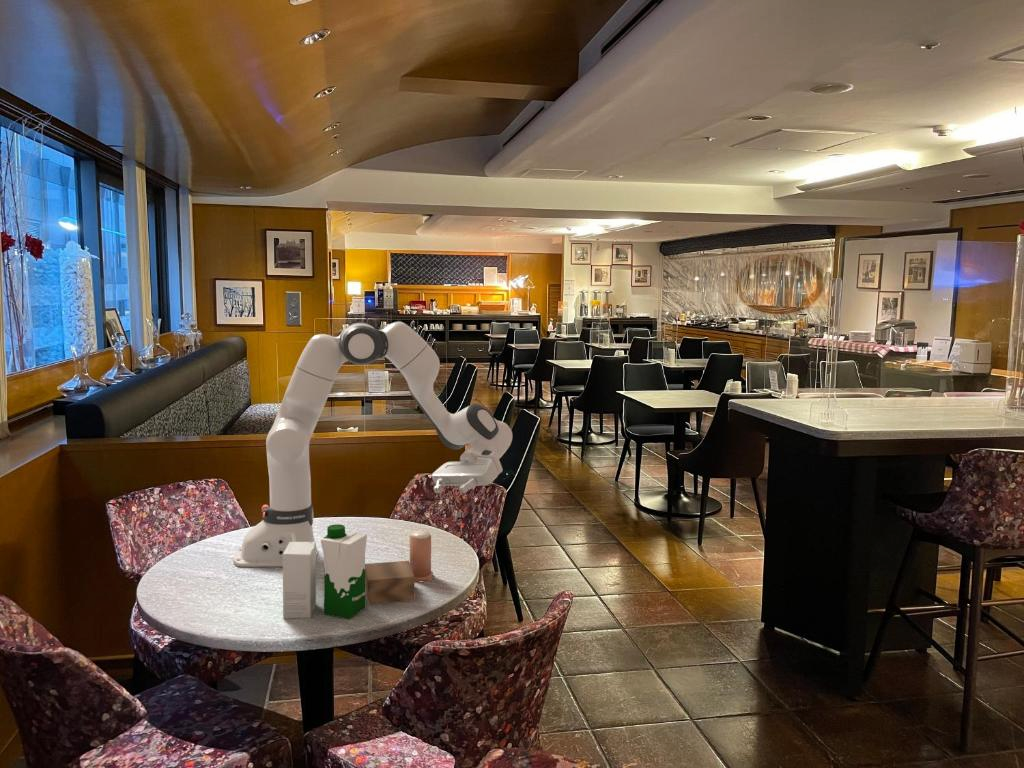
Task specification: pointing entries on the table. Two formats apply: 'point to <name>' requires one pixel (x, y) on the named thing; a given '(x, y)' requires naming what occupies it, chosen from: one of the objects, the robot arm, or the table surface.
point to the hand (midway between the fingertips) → (448, 491)
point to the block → (389, 582)
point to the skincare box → (299, 580)
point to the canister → (420, 555)
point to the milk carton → (344, 572)
